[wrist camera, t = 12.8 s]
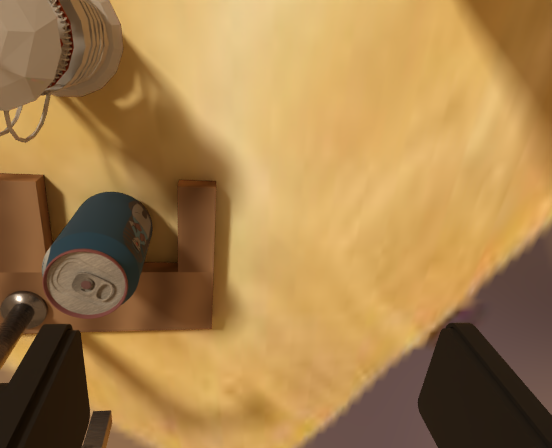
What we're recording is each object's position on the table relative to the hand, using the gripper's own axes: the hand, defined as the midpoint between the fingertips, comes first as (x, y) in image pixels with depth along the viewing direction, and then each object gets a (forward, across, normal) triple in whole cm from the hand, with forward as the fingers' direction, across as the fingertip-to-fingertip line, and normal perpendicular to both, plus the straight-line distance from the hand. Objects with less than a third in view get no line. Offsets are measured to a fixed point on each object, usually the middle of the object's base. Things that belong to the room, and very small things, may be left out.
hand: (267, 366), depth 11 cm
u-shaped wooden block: (+30, +12, +14) cm, 35 cm away
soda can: (+31, +10, +10) cm, 34 cm away
